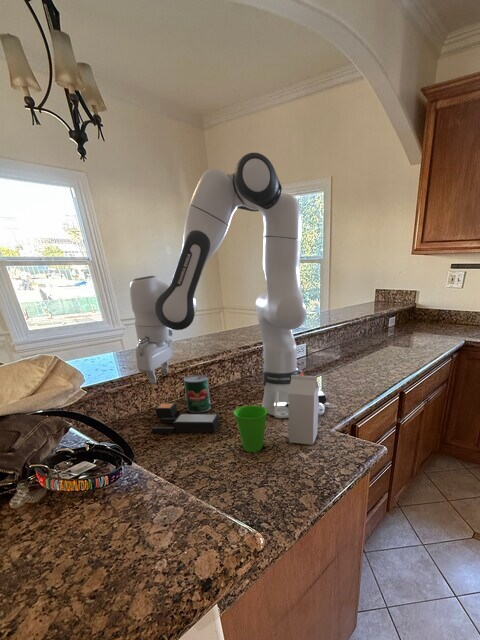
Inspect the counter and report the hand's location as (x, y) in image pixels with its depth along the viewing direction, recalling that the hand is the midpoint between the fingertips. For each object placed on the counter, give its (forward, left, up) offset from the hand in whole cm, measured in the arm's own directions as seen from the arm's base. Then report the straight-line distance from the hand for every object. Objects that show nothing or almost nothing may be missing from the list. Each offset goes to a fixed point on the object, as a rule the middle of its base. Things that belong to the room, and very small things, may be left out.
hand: (159, 378), depth 113 cm
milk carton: (-46, +17, -13) cm, 51 cm away
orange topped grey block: (0, 0, -13) cm, 13 cm away
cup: (-32, +23, -13) cm, 42 cm away
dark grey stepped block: (-10, +10, -13) cm, 19 cm away
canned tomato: (-10, -6, -13) cm, 17 cm away
